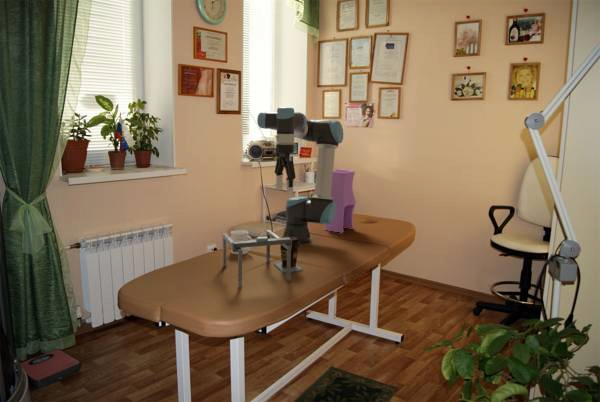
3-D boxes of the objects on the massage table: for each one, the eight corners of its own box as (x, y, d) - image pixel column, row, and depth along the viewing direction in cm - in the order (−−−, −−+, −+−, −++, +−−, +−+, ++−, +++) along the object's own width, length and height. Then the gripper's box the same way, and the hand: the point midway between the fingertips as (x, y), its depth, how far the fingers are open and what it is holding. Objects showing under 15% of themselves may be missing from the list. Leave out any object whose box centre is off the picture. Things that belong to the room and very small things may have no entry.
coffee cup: (283, 270, 206) (284, 241, 204) (275, 265, 213) (276, 236, 211) (301, 268, 210) (302, 239, 208) (293, 262, 217) (293, 234, 215)
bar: (231, 250, 189) (231, 238, 189) (289, 245, 198) (289, 234, 197) (233, 252, 187) (233, 240, 186) (291, 247, 195) (292, 236, 195)
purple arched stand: (334, 226, 295) (336, 169, 288) (354, 229, 287) (356, 170, 280) (322, 230, 283) (323, 170, 277) (342, 233, 276) (344, 172, 269)
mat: (273, 264, 217) (273, 263, 216) (292, 262, 220) (292, 261, 220) (282, 272, 206) (282, 271, 205) (302, 270, 209) (302, 269, 209)
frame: (222, 266, 213) (222, 233, 210) (269, 261, 220) (269, 229, 218) (238, 287, 187) (238, 250, 184) (290, 281, 195) (291, 245, 192)
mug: (257, 252, 235) (258, 232, 233) (248, 257, 227) (248, 235, 225) (237, 249, 240) (237, 229, 238) (227, 253, 233) (227, 232, 231)
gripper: (268, 142, 219) (267, 188, 222) (286, 145, 196) (286, 197, 200) (283, 142, 222) (283, 187, 225) (303, 145, 199) (302, 196, 202)
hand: (284, 192), depth 212 cm, fingers open, 13 cm apart
